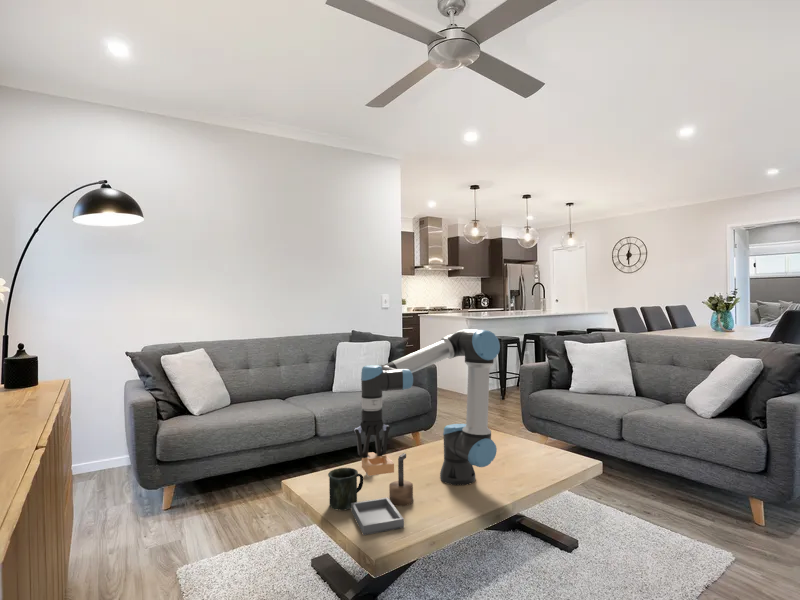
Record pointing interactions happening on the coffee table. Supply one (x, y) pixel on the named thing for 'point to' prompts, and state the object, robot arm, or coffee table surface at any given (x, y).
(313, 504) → the coffee table surface
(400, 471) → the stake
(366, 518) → the tray
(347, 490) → the mug
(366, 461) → the orange square frame paddle
